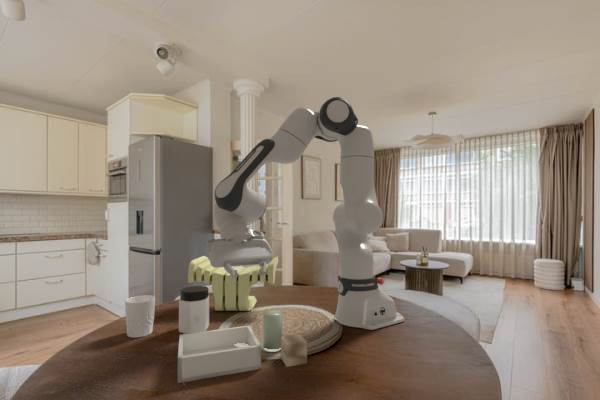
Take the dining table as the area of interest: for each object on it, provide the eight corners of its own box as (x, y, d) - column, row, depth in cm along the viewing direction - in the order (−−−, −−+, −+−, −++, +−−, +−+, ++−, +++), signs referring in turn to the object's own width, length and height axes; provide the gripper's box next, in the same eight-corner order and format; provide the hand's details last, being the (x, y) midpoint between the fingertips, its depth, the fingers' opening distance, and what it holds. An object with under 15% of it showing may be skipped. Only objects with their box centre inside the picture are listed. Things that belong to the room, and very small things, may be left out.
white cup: (159, 333, 92) (159, 298, 92) (130, 341, 86) (130, 304, 86) (148, 326, 97) (149, 293, 97) (120, 333, 91) (121, 299, 91)
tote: (249, 344, 83) (249, 325, 84) (261, 368, 71) (261, 346, 71) (179, 354, 77) (179, 334, 78) (177, 383, 65) (177, 358, 65)
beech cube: (299, 354, 78) (299, 334, 78) (307, 363, 73) (307, 342, 73) (280, 357, 76) (280, 336, 76) (286, 367, 71) (286, 345, 72)
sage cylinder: (279, 343, 84) (279, 309, 85) (284, 350, 80) (284, 315, 80) (261, 345, 83) (261, 311, 83) (265, 353, 78) (265, 317, 78)
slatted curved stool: (187, 313, 109) (188, 262, 110) (203, 300, 125) (203, 255, 126) (273, 314, 108) (273, 262, 109) (278, 300, 124) (278, 255, 124)
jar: (182, 336, 89) (182, 294, 89) (175, 328, 95) (176, 288, 96) (213, 330, 94) (213, 289, 94) (205, 322, 100) (205, 284, 101)
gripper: (208, 232, 91) (219, 272, 83) (267, 232, 104) (282, 267, 96) (201, 246, 95) (212, 285, 87) (259, 244, 107) (274, 278, 99)
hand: (249, 275), depth 91 cm, fingers open, 8 cm apart
